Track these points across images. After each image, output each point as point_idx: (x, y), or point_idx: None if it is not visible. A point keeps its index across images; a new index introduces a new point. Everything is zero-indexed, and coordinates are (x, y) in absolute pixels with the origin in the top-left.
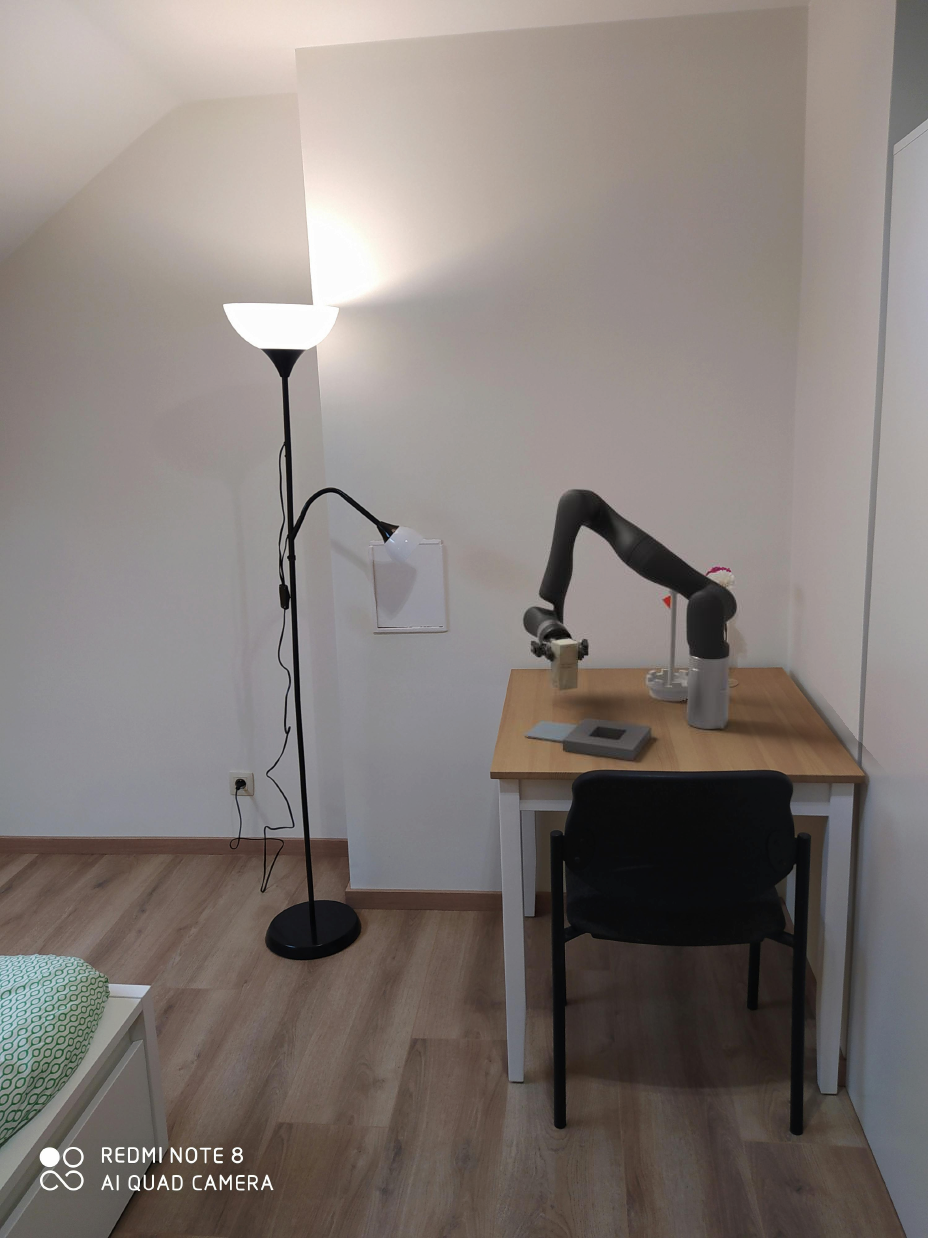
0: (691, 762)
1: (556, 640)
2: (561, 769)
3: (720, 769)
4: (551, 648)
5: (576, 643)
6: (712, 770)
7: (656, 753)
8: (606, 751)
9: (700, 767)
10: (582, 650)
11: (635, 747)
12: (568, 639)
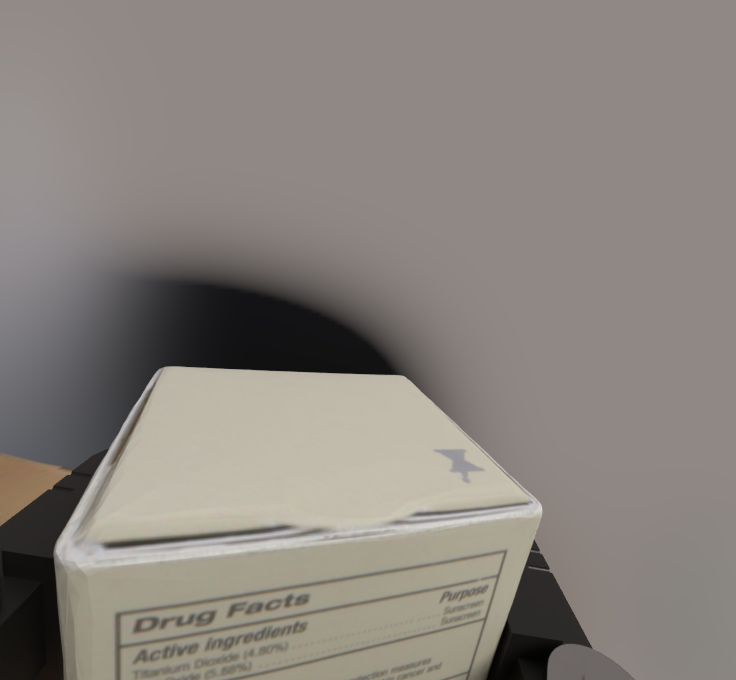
0: (14, 503)
1: (451, 491)
2: None
3: (6, 460)
4: (502, 606)
5: (196, 369)
6: (30, 462)
7: None
8: None
9: (33, 478)
10: (45, 500)
11: None
12: (189, 470)
